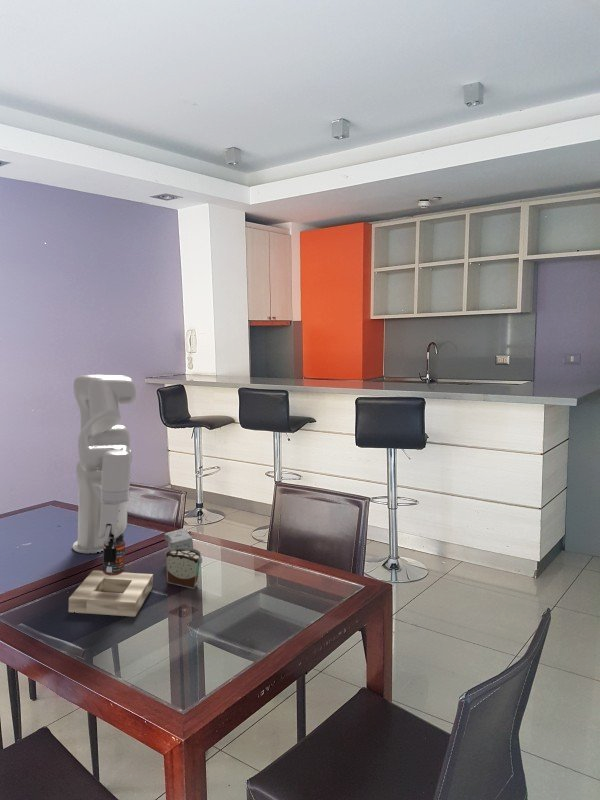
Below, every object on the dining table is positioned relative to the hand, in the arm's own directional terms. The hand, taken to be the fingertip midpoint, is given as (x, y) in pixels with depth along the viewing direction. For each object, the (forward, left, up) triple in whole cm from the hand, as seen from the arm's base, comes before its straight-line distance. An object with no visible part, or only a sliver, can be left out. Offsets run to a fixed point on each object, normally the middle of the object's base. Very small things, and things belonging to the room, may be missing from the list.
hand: (113, 556), depth 165 cm
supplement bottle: (0, 0, -5) cm, 5 cm away
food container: (-14, +18, -13) cm, 26 cm away
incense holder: (-27, +13, -13) cm, 33 cm away
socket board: (0, 0, -13) cm, 13 cm away
